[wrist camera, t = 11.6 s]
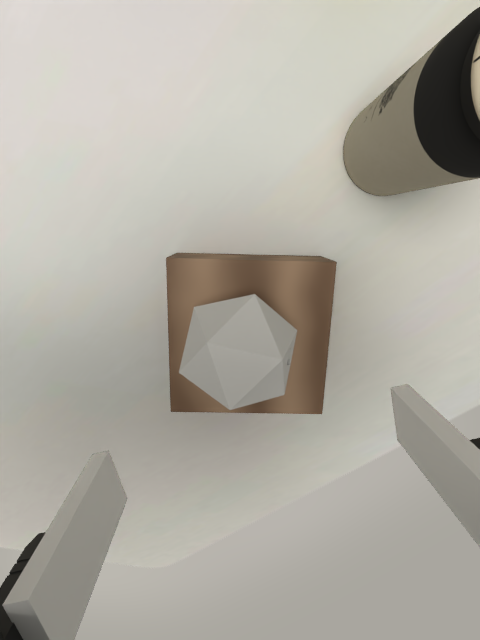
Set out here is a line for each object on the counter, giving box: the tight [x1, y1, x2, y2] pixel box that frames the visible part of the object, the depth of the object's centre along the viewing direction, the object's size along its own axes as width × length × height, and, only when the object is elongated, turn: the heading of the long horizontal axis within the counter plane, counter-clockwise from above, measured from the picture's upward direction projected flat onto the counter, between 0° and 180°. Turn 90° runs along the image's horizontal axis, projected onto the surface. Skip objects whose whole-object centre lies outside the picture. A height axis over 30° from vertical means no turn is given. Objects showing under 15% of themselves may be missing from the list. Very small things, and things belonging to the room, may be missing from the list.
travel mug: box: [344, 7, 480, 196], centre depth 23 cm, size 8×8×18 cm
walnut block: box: [166, 253, 337, 414], centre depth 34 cm, size 14×14×6 cm
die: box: [179, 294, 297, 410], centre depth 27 cm, size 8×9×10 cm
